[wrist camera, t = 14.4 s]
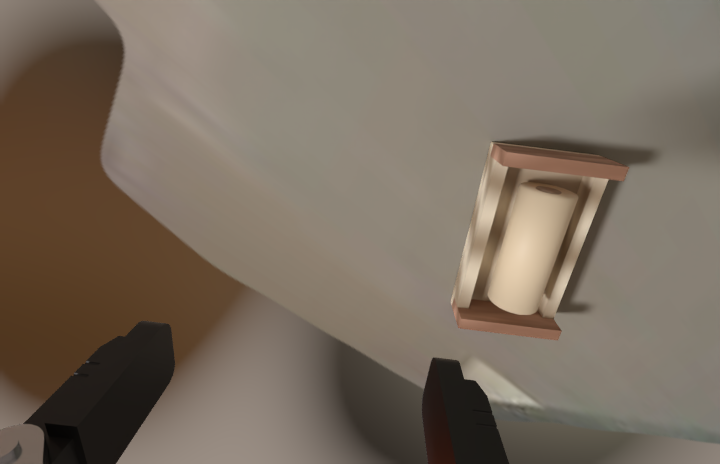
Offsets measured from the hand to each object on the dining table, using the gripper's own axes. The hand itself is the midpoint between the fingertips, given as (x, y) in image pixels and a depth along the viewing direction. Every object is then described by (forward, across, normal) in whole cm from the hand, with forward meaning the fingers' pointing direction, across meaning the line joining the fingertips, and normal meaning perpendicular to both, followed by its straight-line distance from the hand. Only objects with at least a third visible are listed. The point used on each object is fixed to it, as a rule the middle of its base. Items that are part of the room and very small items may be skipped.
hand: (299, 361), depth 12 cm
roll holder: (+28, -18, +6) cm, 34 cm away
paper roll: (+25, -18, +6) cm, 31 cm away
